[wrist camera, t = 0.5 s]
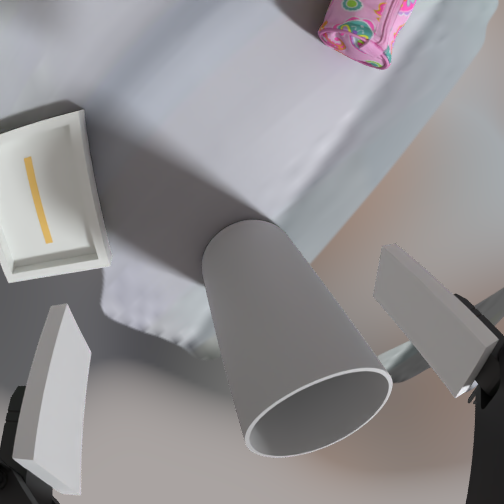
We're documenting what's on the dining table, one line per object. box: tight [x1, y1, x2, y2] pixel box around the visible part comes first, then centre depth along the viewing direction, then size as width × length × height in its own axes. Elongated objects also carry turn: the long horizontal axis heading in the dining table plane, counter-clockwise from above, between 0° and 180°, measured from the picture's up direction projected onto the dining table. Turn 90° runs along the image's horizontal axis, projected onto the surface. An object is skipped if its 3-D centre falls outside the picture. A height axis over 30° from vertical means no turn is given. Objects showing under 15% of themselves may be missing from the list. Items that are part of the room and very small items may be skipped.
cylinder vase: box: [202, 220, 392, 458], centre depth 33 cm, size 12×12×25 cm
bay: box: [0, 109, 113, 283], centre depth 31 cm, size 18×15×2 cm
